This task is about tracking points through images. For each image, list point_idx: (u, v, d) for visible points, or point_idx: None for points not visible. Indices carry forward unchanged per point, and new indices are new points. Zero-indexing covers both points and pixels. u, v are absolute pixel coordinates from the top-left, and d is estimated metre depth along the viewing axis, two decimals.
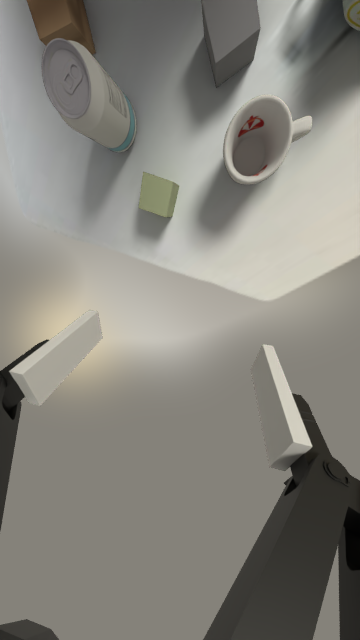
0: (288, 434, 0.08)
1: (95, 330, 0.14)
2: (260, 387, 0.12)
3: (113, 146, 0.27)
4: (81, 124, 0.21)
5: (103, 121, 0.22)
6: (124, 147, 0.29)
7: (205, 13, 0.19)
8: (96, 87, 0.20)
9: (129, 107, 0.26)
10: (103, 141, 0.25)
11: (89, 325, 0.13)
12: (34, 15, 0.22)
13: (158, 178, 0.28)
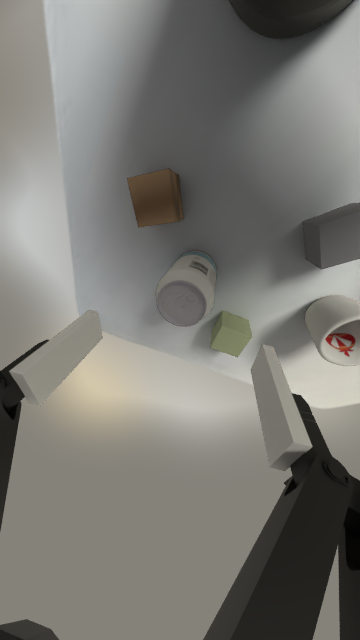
0: (288, 434, 0.08)
1: (95, 330, 0.14)
2: (260, 387, 0.12)
3: None
4: None
5: None
6: None
7: (320, 235, 0.19)
8: (208, 307, 0.20)
9: None
10: None
11: (89, 325, 0.13)
12: (137, 211, 0.22)
13: (237, 332, 0.28)
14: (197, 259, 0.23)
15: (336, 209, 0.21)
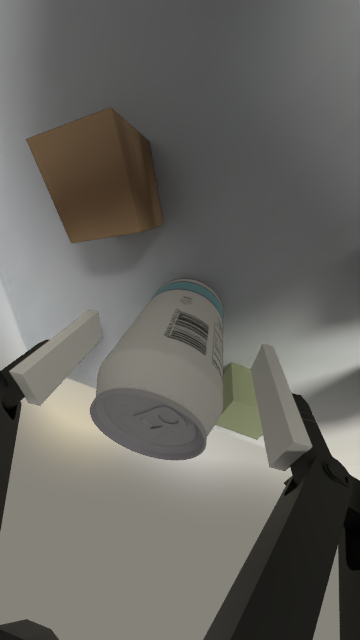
0: (288, 434, 0.08)
1: (95, 330, 0.14)
2: (260, 387, 0.12)
3: None
4: None
5: None
6: None
7: None
8: (211, 429, 0.09)
9: (222, 319, 0.15)
10: None
11: (89, 325, 0.13)
12: (63, 212, 0.11)
13: (258, 410, 0.17)
14: (187, 304, 0.12)
15: None
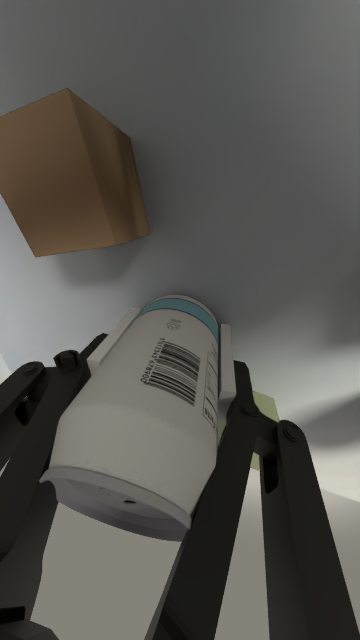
0: (220, 386, 0.10)
1: None
2: None
3: None
4: None
5: None
6: None
7: None
8: None
9: (217, 341, 0.13)
10: None
11: None
12: (21, 220, 0.09)
13: None
14: (174, 330, 0.10)
15: None
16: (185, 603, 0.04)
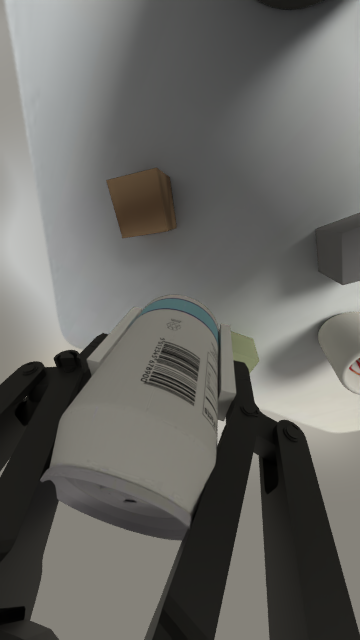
0: (220, 386, 0.10)
1: None
2: None
3: None
4: None
5: None
6: None
7: (342, 246, 0.16)
8: None
9: (217, 341, 0.13)
10: None
11: None
12: (120, 219, 0.18)
13: (241, 355, 0.24)
14: (174, 330, 0.10)
15: (355, 214, 0.18)
16: (185, 603, 0.04)
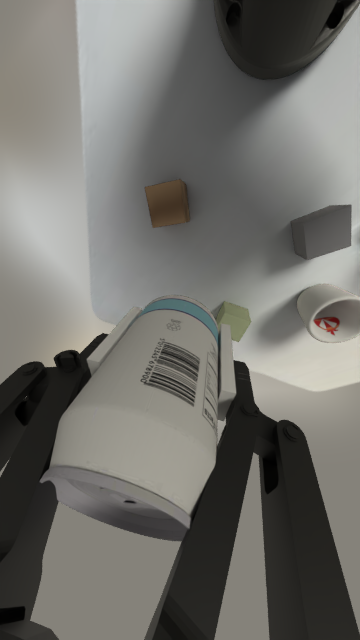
0: (220, 386, 0.10)
1: None
2: None
3: None
4: None
5: None
6: None
7: (305, 232, 0.24)
8: None
9: (217, 342, 0.13)
10: None
11: None
12: (152, 214, 0.26)
13: (237, 318, 0.32)
14: (174, 330, 0.10)
15: (318, 210, 0.26)
16: (185, 603, 0.04)
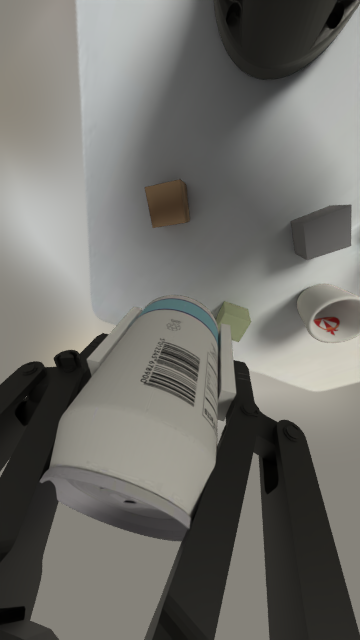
0: (220, 386, 0.10)
1: None
2: None
3: None
4: None
5: None
6: None
7: (304, 232, 0.24)
8: None
9: (217, 342, 0.13)
10: None
11: None
12: (152, 214, 0.26)
13: (237, 318, 0.32)
14: (174, 330, 0.10)
15: (318, 210, 0.26)
16: (185, 603, 0.04)
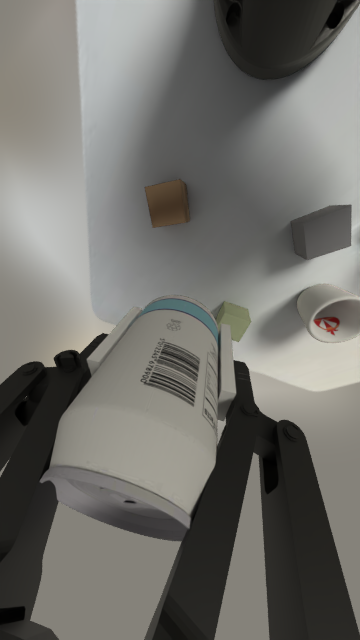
0: (220, 386, 0.10)
1: None
2: None
3: None
4: None
5: None
6: None
7: (305, 232, 0.24)
8: None
9: (217, 342, 0.13)
10: None
11: None
12: (152, 214, 0.26)
13: (237, 318, 0.32)
14: (174, 330, 0.10)
15: (318, 210, 0.26)
16: (185, 603, 0.04)
